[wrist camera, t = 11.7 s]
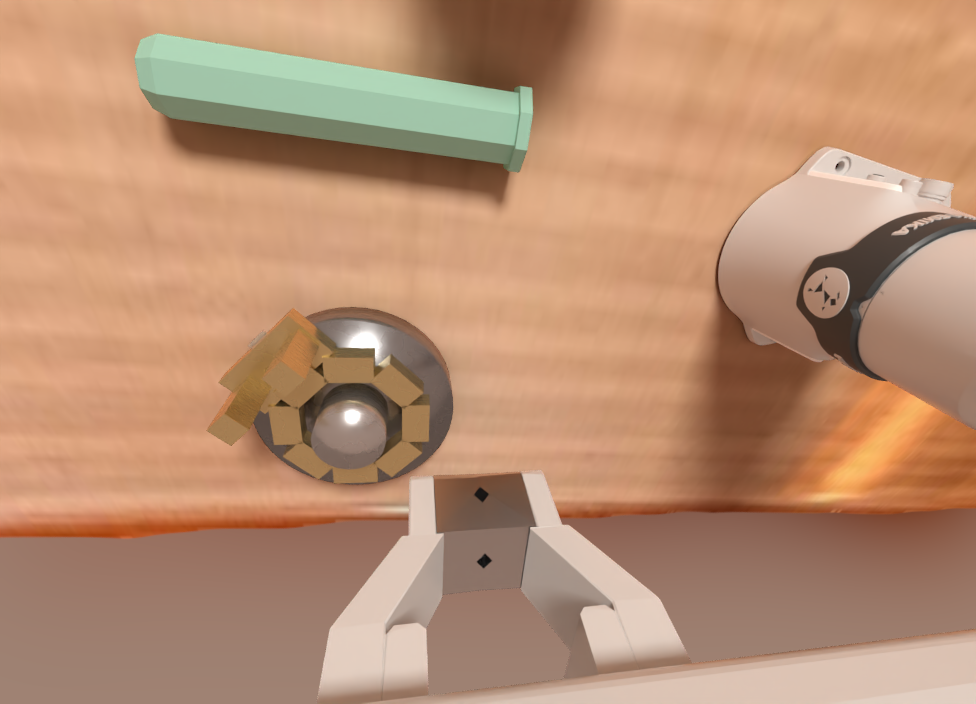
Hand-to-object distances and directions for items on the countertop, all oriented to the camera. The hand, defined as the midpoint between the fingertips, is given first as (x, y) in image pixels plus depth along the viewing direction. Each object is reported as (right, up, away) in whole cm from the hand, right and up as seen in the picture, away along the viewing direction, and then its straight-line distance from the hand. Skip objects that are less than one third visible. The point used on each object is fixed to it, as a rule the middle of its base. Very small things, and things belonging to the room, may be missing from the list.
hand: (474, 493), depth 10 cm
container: (-10, +22, +23) cm, 33 cm away
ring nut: (-13, -1, +30) cm, 33 cm away
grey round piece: (-12, -1, +34) cm, 36 cm away
